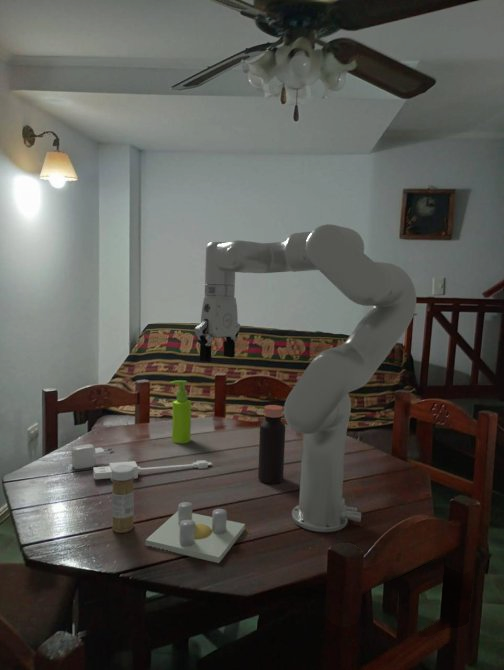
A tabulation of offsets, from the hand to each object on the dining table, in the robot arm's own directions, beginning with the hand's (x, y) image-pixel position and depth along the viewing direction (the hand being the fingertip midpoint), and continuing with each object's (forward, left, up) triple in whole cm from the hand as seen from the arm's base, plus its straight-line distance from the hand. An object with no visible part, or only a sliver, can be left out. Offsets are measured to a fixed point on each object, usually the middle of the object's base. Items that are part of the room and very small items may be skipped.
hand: (217, 358), depth 128 cm
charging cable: (+18, +1, -34) cm, 38 cm away
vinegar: (-13, -8, -33) cm, 37 cm away
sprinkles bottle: (+8, +30, -33) cm, 45 cm away
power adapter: (+36, +3, -33) cm, 49 cm away
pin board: (-8, +27, -33) cm, 43 cm away
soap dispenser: (+24, -26, -33) cm, 49 cm away
